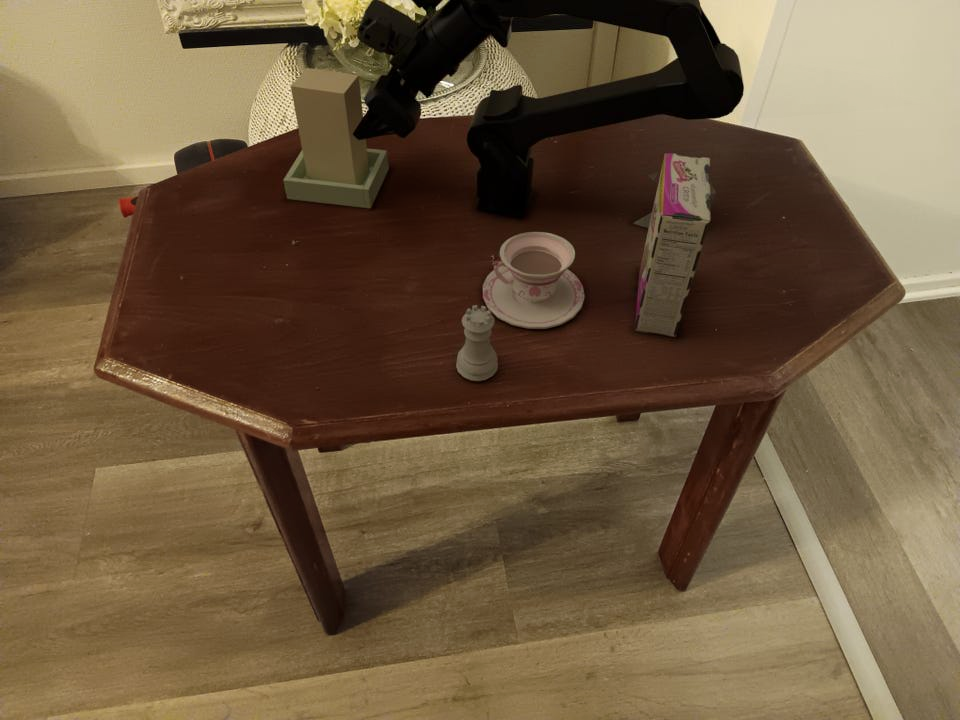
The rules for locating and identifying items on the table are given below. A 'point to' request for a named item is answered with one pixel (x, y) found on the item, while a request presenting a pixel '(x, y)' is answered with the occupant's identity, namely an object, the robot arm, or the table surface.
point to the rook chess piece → (477, 346)
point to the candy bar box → (673, 243)
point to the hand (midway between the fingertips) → (365, 117)
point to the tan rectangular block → (330, 126)
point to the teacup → (534, 282)
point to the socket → (338, 184)
